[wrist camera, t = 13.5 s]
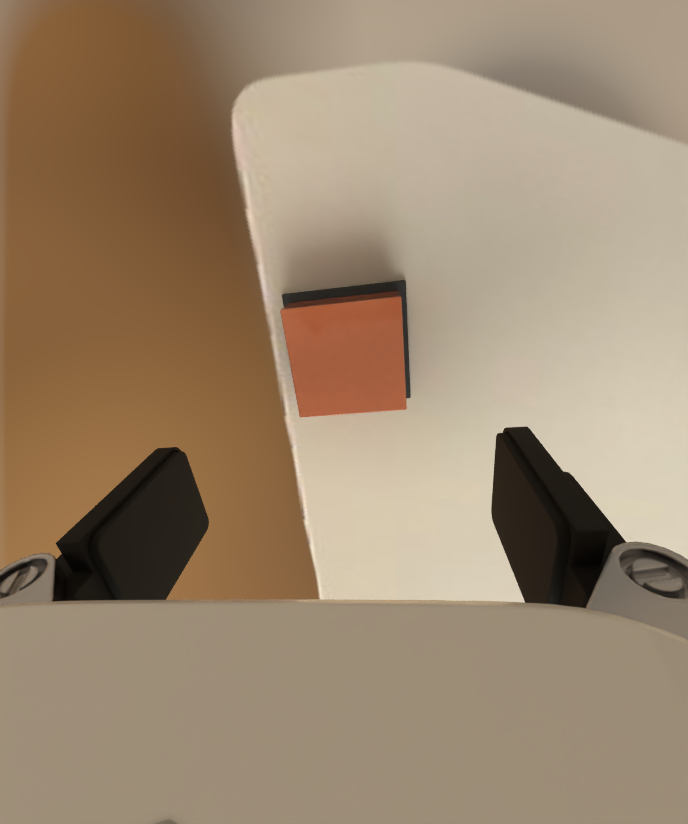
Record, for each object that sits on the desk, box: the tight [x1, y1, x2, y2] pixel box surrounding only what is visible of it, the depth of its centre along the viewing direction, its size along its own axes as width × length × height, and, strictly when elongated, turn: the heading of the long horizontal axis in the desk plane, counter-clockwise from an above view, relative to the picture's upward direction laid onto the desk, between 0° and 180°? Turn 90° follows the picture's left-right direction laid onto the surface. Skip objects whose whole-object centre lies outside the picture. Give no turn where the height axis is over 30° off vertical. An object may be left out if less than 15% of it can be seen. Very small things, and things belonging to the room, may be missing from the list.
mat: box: [282, 280, 410, 398], centre depth 26 cm, size 8×8×1 cm
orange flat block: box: [280, 291, 407, 417], centre depth 25 cm, size 7×7×3 cm
